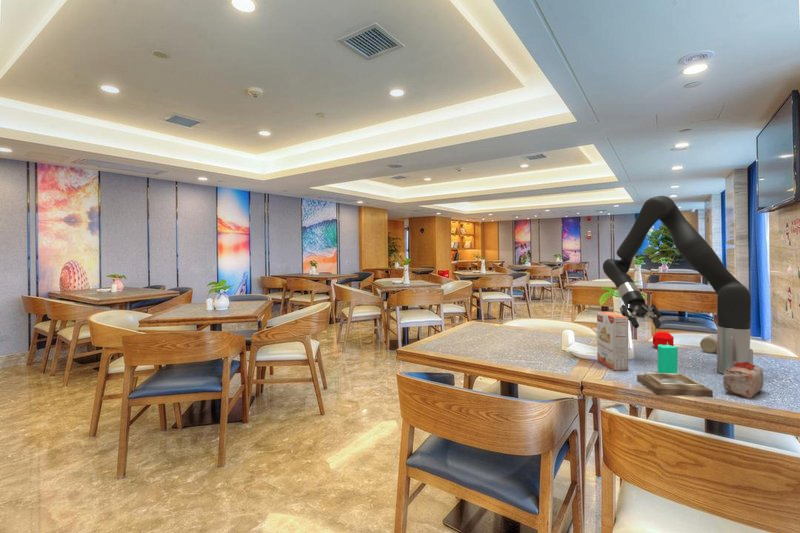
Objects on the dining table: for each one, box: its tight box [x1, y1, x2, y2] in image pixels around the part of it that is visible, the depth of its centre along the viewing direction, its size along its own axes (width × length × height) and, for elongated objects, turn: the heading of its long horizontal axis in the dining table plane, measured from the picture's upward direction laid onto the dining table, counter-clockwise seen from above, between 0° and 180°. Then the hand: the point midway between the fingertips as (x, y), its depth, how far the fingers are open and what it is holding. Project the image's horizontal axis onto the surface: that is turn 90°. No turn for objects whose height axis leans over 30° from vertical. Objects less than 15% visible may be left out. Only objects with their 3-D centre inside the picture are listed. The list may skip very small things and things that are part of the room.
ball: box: [652, 330, 675, 349], centre depth 182 cm, size 8×8×8 cm
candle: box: [657, 342, 678, 374], centre depth 143 cm, size 6×6×12 cm
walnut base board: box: [636, 372, 714, 398], centre depth 129 cm, size 16×14×3 cm
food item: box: [722, 361, 764, 399], centre depth 124 cm, size 14×8×10 cm, turn 126°
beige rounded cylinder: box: [699, 333, 717, 354], centre depth 173 cm, size 11×8×8 cm
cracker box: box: [596, 311, 629, 372], centre depth 155 cm, size 14×6×21 cm, turn 177°
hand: (648, 327), depth 154 cm, fingers open, 8 cm apart
